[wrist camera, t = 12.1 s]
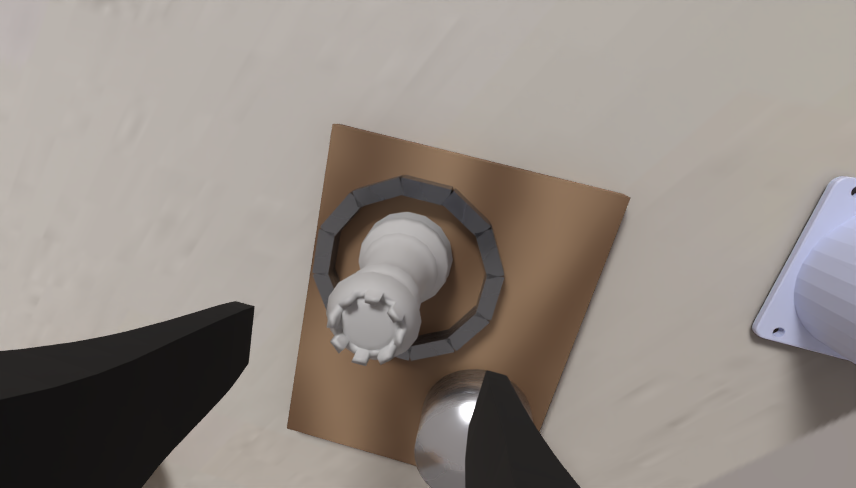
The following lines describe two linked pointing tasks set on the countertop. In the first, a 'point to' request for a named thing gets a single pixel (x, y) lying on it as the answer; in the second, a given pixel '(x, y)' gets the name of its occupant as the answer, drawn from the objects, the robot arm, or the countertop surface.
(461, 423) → the silver metal dome
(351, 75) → the countertop surface
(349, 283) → the rook chess piece
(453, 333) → the socket ring
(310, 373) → the carrier board
